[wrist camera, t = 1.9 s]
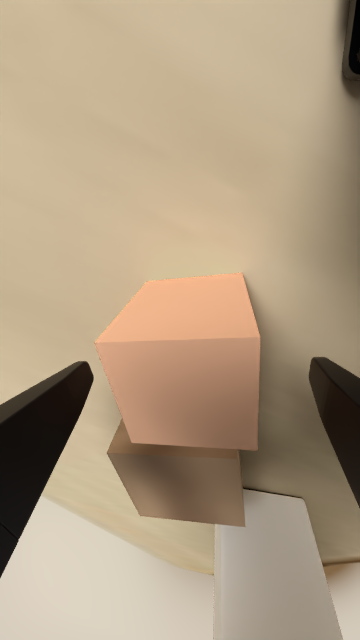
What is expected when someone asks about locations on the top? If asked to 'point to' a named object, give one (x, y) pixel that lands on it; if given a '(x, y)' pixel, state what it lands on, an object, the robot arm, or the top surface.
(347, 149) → the top surface
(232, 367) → the terracotta cube
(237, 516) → the walnut block
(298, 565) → the milk carton
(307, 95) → the top surface
